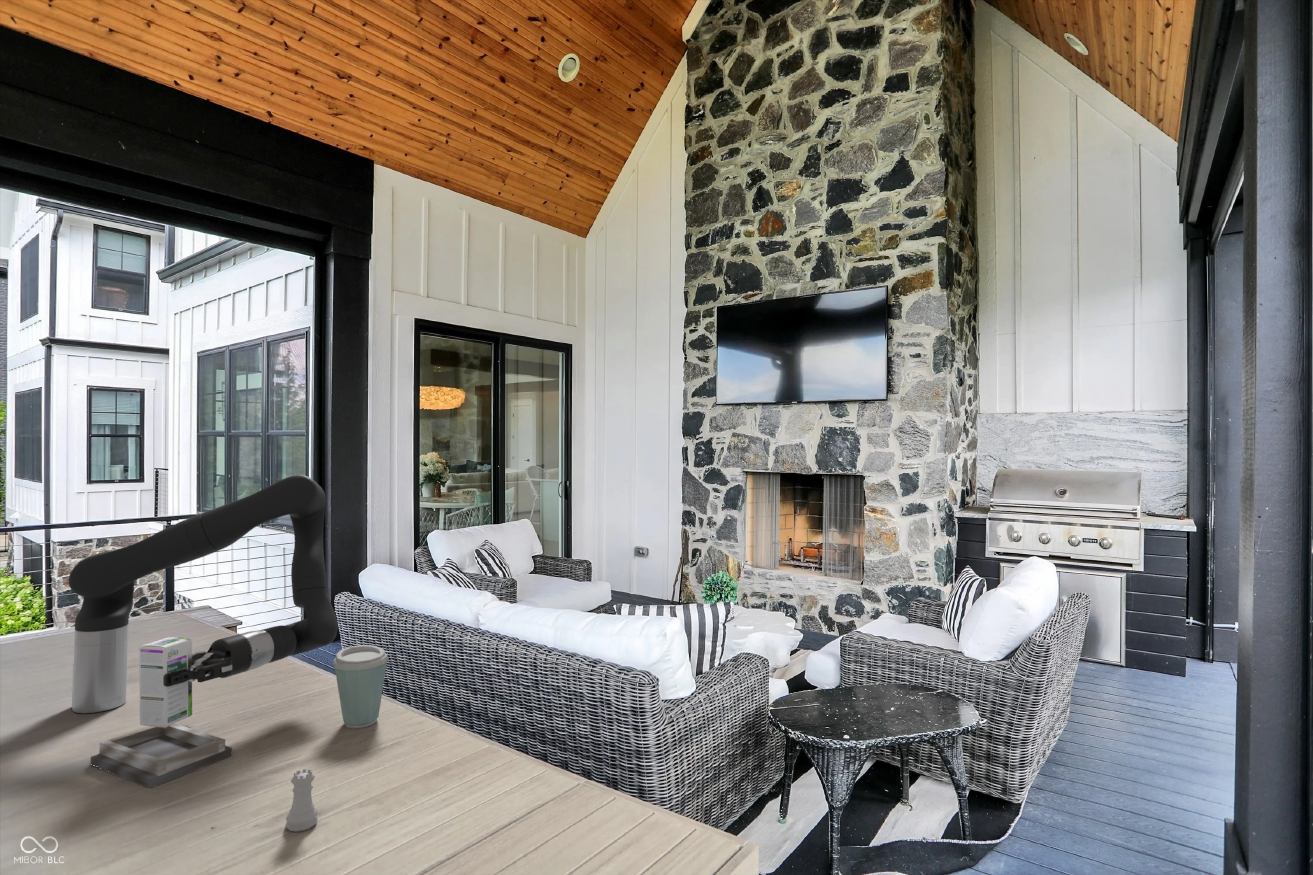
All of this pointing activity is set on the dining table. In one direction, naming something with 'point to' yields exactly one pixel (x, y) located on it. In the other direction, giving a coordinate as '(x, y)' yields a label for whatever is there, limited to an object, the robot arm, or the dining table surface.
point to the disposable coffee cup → (360, 683)
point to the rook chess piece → (302, 803)
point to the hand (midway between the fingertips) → (153, 677)
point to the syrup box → (155, 698)
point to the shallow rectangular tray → (159, 753)
